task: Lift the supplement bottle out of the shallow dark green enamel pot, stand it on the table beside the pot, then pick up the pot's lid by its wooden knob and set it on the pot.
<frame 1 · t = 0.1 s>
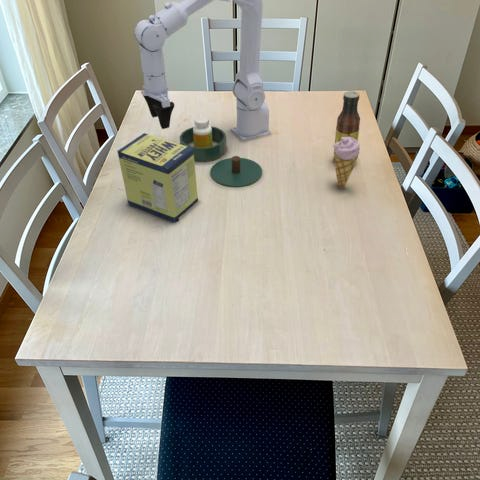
hand: (160, 122, 139), 10 cm above the table, tool pointing down, fingers open, 7 cm apart
ice cream cone: (339, 187, 134), on the table
pot: (203, 151, 147), on the table
protein box: (163, 204, 129), on the table
sauce bottle: (342, 162, 142), on the table
lid: (236, 172, 138), point 1 cm above the table
supplement bottle: (203, 151, 147), resting on pot
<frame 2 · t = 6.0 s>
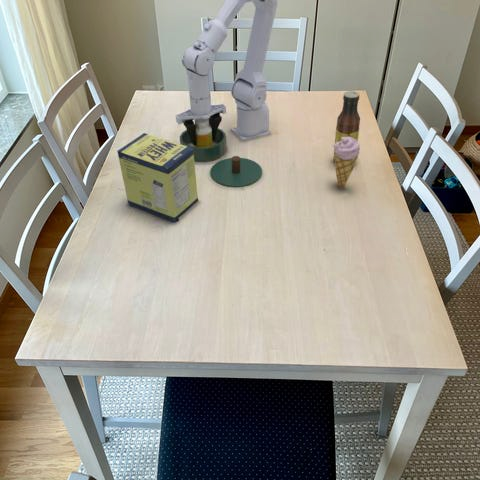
hand: (203, 141, 145), 3 cm above the table, tool pointing down, fingers closed on supplement bottle, 5 cm apart
supplement bottle: (203, 151, 147), resting on pot, touching gripper
everything else where it was.
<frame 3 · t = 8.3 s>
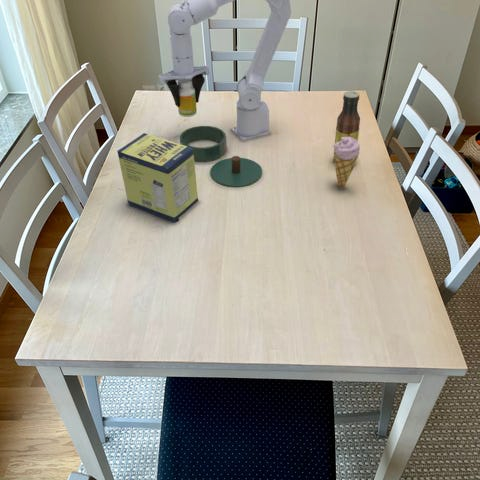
hand: (186, 103, 146), 10 cm above the table, tool pointing down, fingers closed on supplement bottle, 5 cm apart
supplement bottle: (187, 114, 149), point 7 cm above the table, touching gripper
everything else where it was.
when the fingers open (3 cm above the table, at t = 10.7 s): supplement bottle stays where it is, on the table.
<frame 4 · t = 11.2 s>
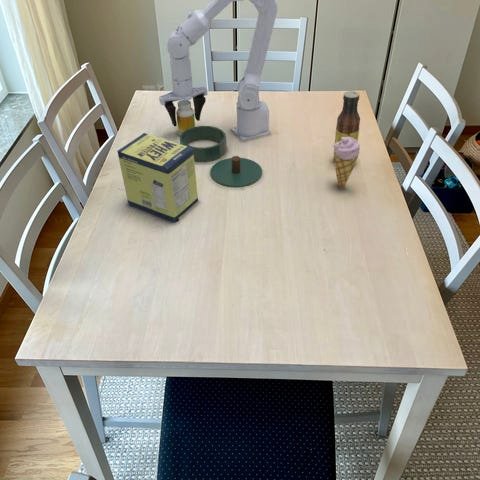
hand: (186, 122, 153), 4 cm above the table, tool pointing down, fingers open, 7 cm apart
supplement bottle: (187, 133, 155), on the table
everything else where it was.
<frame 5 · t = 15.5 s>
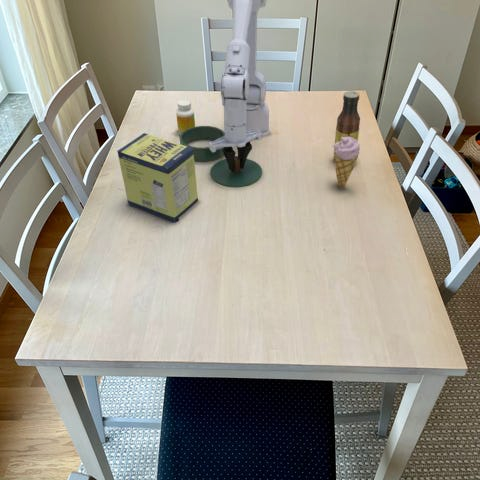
hand: (236, 168, 137), 2 cm above the table, tool pointing down, fingers closed on lid, 2 cm apart
lid: (236, 172, 138), point 1 cm above the table, touching gripper
everything else where it was.
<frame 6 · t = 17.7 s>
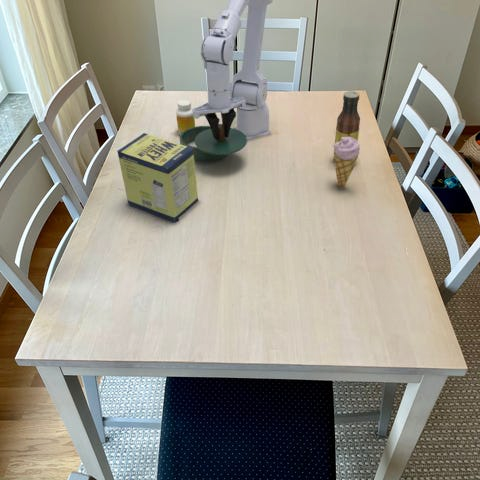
hand: (220, 137, 136), 8 cm above the table, tool pointing down, fingers closed on lid, 2 cm apart
lid: (220, 141, 137), point 7 cm above the table, touching gripper
everything else where it was.
when the fingers open (6 cm above the table, at t = 20.1 s): lid stays where it is, resting on pot.
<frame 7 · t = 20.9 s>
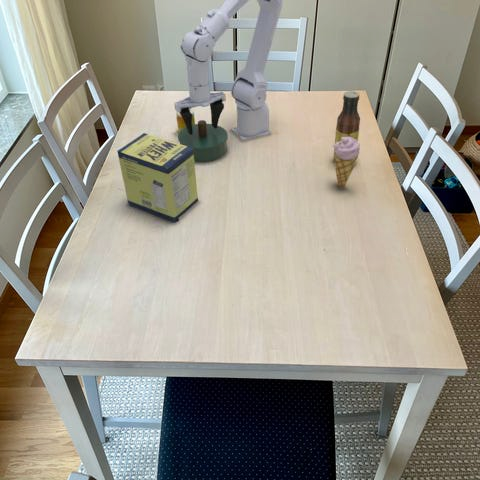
hand: (202, 130, 142), 7 cm above the table, tool pointing down, fingers open, 7 cm apart
lid: (202, 136, 144), point 5 cm above the table, touching pot
everything else where it was.
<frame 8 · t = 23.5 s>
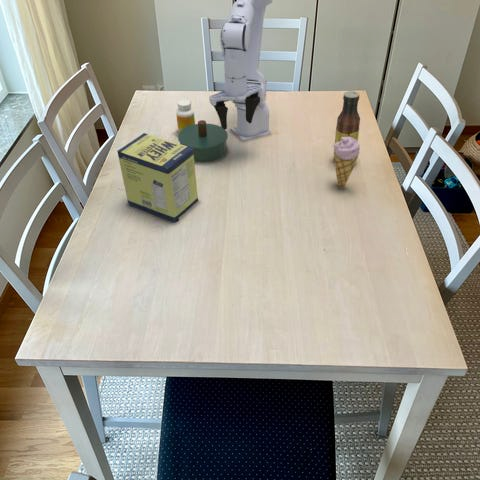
hand: (236, 124, 137), 10 cm above the table, tool pointing down, fingers open, 7 cm apart
nothing on the table moved.
at the end: supplement bottle inside the target area (0.0 cm from its centre), on the table; supplement bottle tilted 0°; lid 0.0 cm off-centre on the pot, point 4.8 cm above the pot's base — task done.
